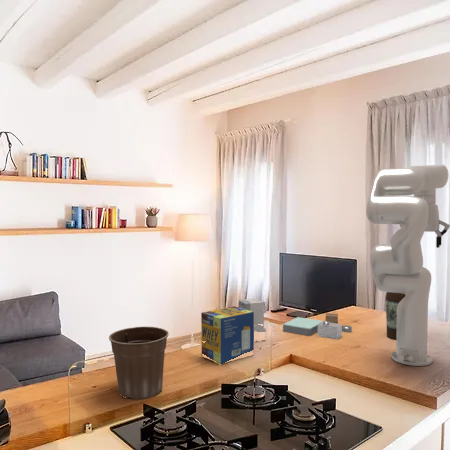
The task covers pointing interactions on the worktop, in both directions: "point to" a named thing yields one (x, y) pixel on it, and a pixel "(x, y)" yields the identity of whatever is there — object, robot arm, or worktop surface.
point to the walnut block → (332, 317)
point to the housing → (329, 330)
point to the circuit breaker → (255, 311)
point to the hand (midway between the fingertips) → (423, 246)
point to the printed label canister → (392, 313)
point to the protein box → (227, 333)
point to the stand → (302, 326)
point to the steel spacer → (346, 328)
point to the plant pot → (139, 360)
